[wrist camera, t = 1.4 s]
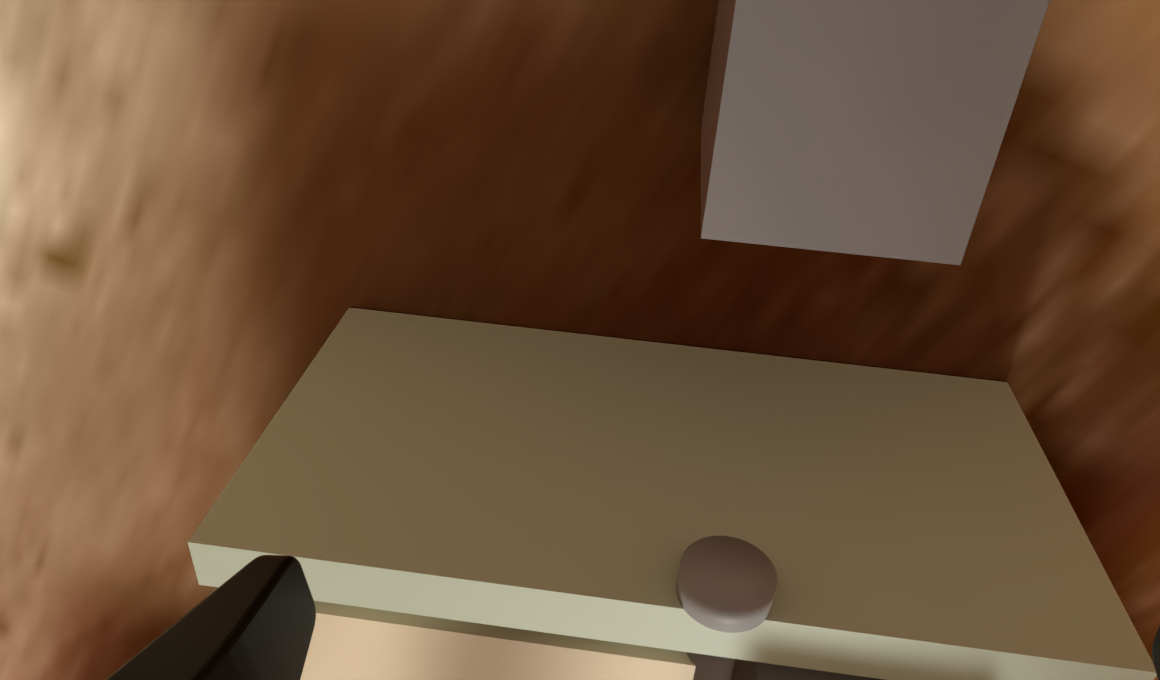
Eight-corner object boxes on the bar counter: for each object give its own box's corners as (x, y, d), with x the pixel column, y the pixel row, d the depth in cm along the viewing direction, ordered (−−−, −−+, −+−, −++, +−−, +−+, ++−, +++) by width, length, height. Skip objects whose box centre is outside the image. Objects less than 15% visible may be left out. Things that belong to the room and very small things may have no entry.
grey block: (966, -122, 17) (1079, -86, 12) (894, 145, 20) (960, 265, 15) (737, -139, 17) (752, -111, 12) (700, 127, 20) (700, 238, 15)
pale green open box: (1015, 363, 22) (1183, 670, 15) (870, 719, 31) (928, 1035, 23) (347, 289, 24) (170, 534, 16) (384, 650, 32) (281, 928, 24)
